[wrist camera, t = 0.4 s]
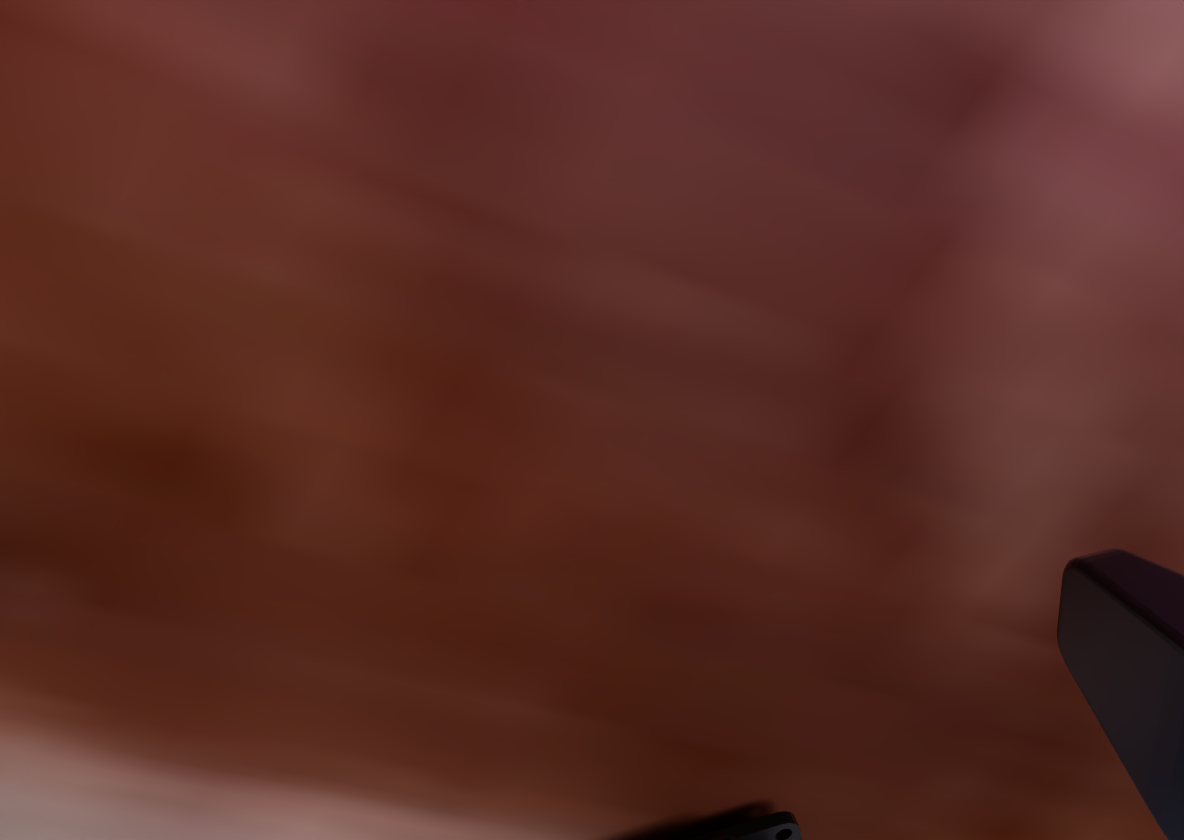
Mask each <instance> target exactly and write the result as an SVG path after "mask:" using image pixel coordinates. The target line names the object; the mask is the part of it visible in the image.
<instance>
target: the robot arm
mask: <svg viewBox="0 0 1184 840" xmlns="http://www.w3.org/2000/svg"><path fill="white" fill-rule="evenodd" d="M1057 639H1058V645H1059V648H1060V652H1061V654H1062V657H1063V659H1064V661H1065V663H1066V665H1067V667H1068V669H1069V670H1070V672H1071V674H1072V676H1073V677H1074V679H1075V681H1076V683H1077V684H1078V686H1079V688H1080V690H1081V691H1082V693H1083V695H1084V697H1085V698H1086V700H1087V702H1088V704H1089V705H1090V707H1091V709H1092V711H1093V712H1094V714H1095V716H1096V718H1097V719H1098V721H1099V723H1100V725H1101V726H1102V728H1103V730H1104V731H1105V733H1106V735H1107V737H1108V738H1109V740H1110V742H1111V744H1112V745H1113V747H1114V749H1115V751H1116V752H1117V754H1118V756H1119V758H1120V759H1121V761H1122V763H1123V765H1124V766H1125V768H1126V770H1127V772H1128V773H1129V775H1130V777H1131V779H1132V780H1133V782H1134V784H1135V786H1136V787H1137V789H1138V791H1139V793H1140V794H1141V796H1142V798H1143V800H1144V801H1145V803H1146V805H1147V806H1148V808H1149V810H1150V811H1151V813H1152V814H1153V816H1154V818H1155V819H1156V821H1157V823H1158V824H1159V826H1160V828H1161V829H1162V831H1163V832H1164V834H1165V835H1166V836H1167V838H1168V839H1169V840H1184V575H1183V574H1180V573H1178V572H1176V571H1173V570H1171V569H1169V568H1166V567H1164V566H1162V565H1159V564H1157V563H1155V562H1152V561H1150V560H1148V559H1145V558H1143V557H1141V556H1138V555H1136V554H1134V553H1131V552H1129V551H1126V550H1123V549H1118V548H1111V549H1106V550H1102V551H1099V552H1095V553H1091V554H1088V555H1084V556H1080V557H1077V558H1074V559H1072V560H1070V561H1069V562H1068V564H1067V565H1066V567H1065V568H1064V572H1063V578H1062V587H1061V597H1060V606H1059V616H1058V625H1057ZM687 840H801V830H800V828H799V825H798V823H797V821H796V818H795V816H794V814H792V813H791V812H786V811H783V812H777V813H774V814H771V815H767V816H764V817H761V818H757V819H754V820H751V821H747V822H744V823H741V824H737V825H734V826H731V827H727V828H724V829H721V830H717V831H714V832H711V833H707V834H704V835H701V836H697V837H694V838H691V839H687Z"/></svg>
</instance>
